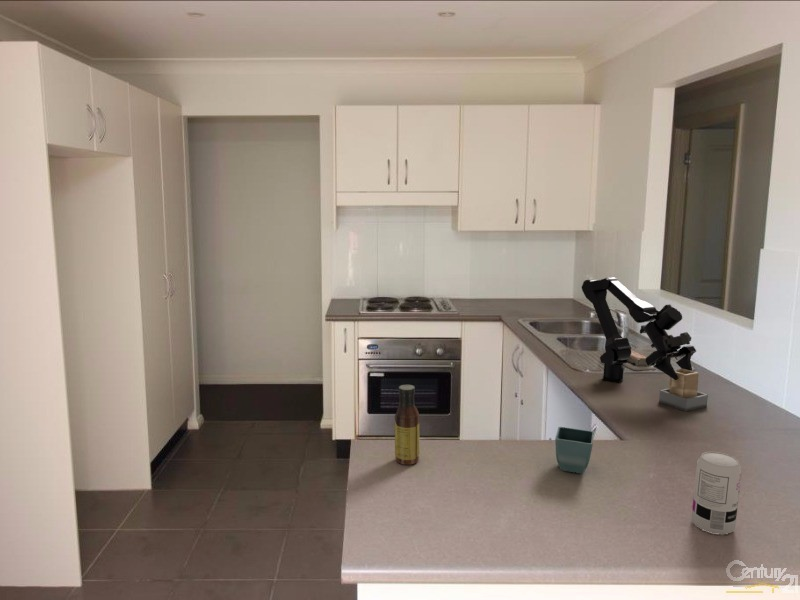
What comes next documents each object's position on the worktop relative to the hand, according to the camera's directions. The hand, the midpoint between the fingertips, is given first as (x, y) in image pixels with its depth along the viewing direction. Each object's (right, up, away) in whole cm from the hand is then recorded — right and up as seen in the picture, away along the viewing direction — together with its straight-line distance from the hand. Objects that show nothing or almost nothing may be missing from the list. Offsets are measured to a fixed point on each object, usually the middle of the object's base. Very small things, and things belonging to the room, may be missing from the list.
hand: (684, 378), depth 205 cm
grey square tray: (0, -9, +1) cm, 9 cm away
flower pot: (-49, -17, -47) cm, 70 cm away
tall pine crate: (0, -8, +1) cm, 8 cm away
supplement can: (-27, -22, -73) cm, 81 cm away
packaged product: (+1, -1, +49) cm, 49 cm away
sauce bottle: (-91, -16, -44) cm, 102 cm away
